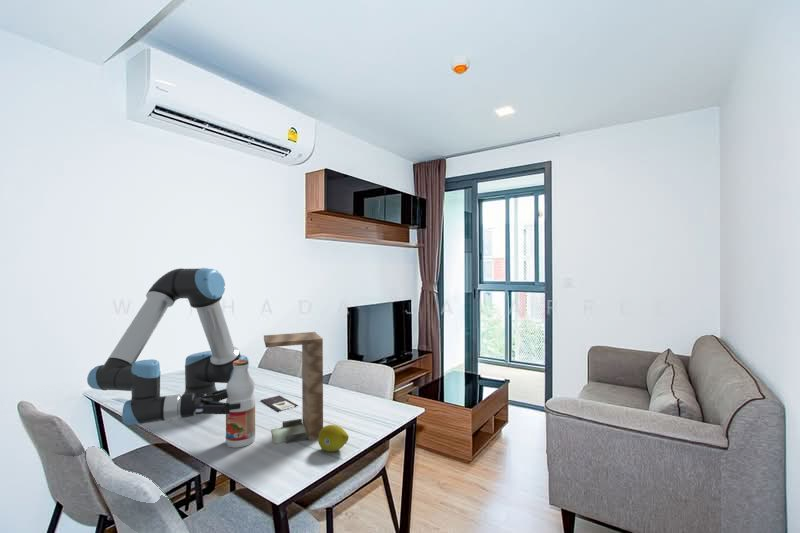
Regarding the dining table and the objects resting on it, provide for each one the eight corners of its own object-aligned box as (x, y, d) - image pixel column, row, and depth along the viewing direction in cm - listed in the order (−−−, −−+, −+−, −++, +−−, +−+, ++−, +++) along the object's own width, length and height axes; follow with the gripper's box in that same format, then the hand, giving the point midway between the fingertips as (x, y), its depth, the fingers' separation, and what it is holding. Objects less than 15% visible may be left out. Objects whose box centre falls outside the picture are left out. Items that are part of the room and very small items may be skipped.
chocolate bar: (279, 395, 176) (297, 405, 163) (279, 397, 176) (297, 407, 163) (260, 399, 170) (278, 410, 157) (260, 402, 170) (278, 412, 157)
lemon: (311, 451, 122) (311, 426, 122) (328, 441, 129) (328, 418, 129) (337, 459, 117) (337, 434, 117) (353, 449, 123) (352, 425, 124)
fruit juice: (259, 442, 129) (259, 361, 129) (231, 451, 123) (231, 366, 123) (249, 433, 136) (248, 356, 136) (221, 441, 130) (221, 361, 130)
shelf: (266, 447, 125) (265, 343, 125) (264, 428, 140) (263, 335, 140) (323, 437, 132) (322, 338, 133) (315, 420, 147) (315, 331, 147)
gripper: (186, 405, 134) (250, 396, 142) (174, 432, 111) (251, 421, 119) (186, 384, 134) (250, 377, 142) (174, 407, 111) (251, 397, 119)
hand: (251, 397), depth 131 cm, fingers open, 12 cm apart
